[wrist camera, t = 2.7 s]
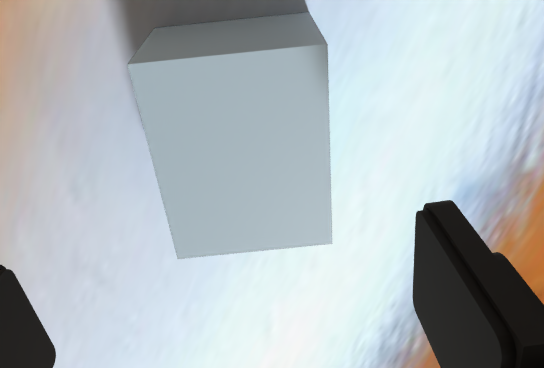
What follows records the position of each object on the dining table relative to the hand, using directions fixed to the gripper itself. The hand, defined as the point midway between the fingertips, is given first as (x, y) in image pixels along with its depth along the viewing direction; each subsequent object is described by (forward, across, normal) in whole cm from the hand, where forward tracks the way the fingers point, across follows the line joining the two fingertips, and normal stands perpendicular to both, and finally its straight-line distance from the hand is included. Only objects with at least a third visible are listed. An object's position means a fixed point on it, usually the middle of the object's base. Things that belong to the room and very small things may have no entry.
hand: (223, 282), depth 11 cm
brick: (+9, -1, -1) cm, 9 cm away
